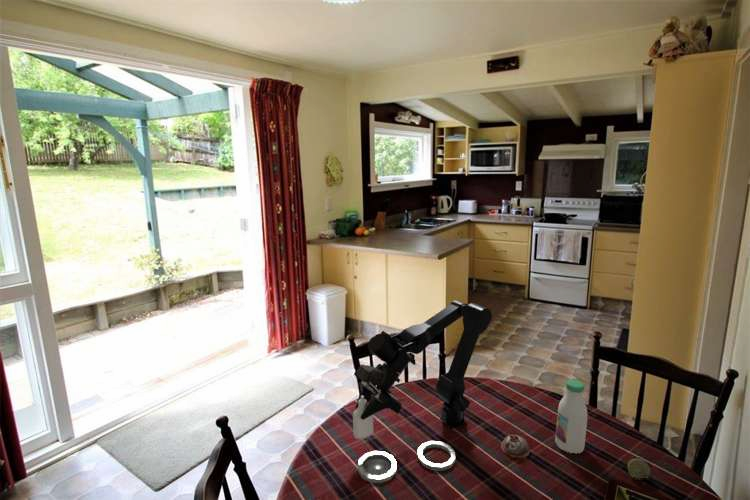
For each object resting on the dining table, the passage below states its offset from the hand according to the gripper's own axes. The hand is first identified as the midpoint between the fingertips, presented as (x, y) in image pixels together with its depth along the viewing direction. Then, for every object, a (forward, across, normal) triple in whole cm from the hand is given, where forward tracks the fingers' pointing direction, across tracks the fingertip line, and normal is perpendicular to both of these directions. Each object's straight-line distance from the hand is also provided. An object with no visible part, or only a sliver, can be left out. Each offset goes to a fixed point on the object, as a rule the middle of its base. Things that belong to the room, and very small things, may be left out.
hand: (358, 415), depth 111 cm
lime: (-32, +42, +53) cm, 75 cm away
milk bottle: (-29, +26, +49) cm, 63 cm away
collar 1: (+8, +6, +11) cm, 15 cm away
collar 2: (-4, +11, +23) cm, 25 cm away
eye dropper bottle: (+4, 0, +6) cm, 7 cm away
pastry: (-19, +19, +39) cm, 47 cm away
